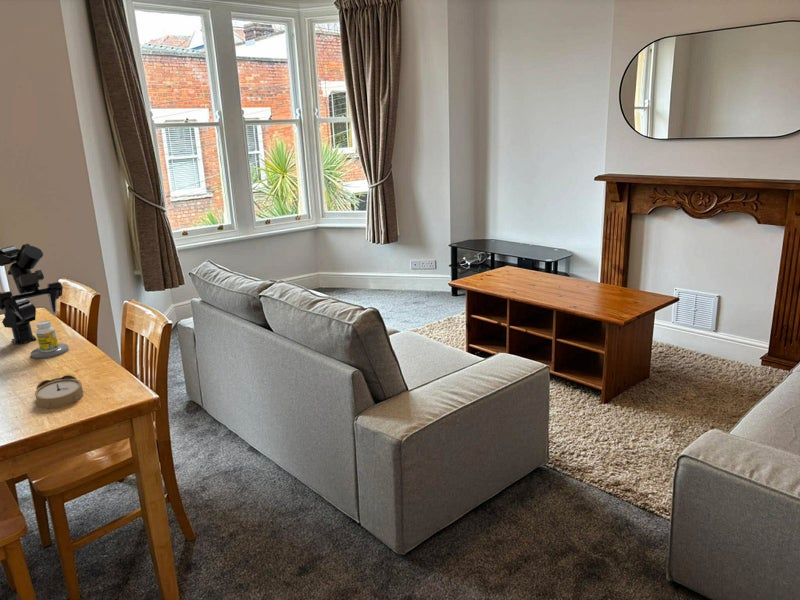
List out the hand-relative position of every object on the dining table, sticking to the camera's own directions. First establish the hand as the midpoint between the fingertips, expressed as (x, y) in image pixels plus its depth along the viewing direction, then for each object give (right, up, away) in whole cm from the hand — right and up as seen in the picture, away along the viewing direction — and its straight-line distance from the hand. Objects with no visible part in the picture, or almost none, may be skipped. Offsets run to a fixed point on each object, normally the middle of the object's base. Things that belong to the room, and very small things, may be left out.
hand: (39, 315), depth 200 cm
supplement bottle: (+3, -11, +1) cm, 12 cm away
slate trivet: (+3, -12, +2) cm, 13 cm away
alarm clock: (+25, -22, -32) cm, 46 cm away
